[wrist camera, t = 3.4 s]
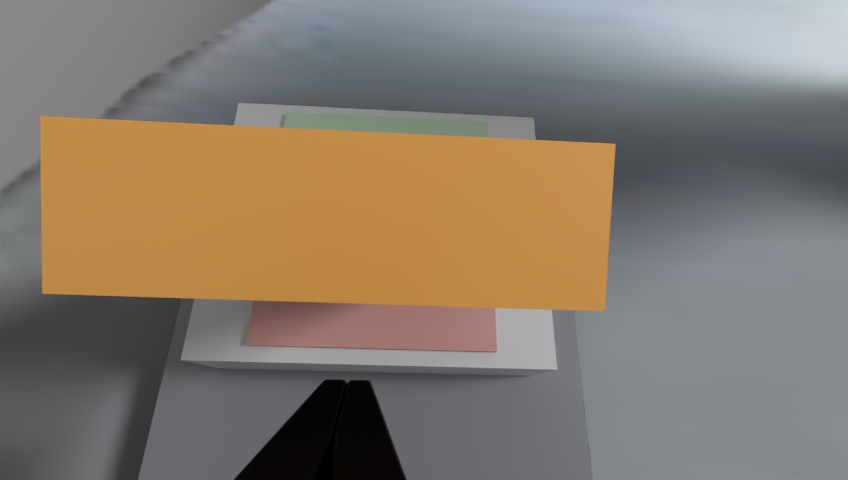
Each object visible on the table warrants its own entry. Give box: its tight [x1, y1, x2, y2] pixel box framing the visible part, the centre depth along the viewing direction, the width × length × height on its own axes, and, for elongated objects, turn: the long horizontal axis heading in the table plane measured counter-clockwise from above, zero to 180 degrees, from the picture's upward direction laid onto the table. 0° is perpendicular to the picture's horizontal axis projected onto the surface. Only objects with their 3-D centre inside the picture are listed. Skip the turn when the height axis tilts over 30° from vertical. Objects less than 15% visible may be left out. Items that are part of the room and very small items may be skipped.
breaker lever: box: [40, 116, 616, 311], centre depth 10 cm, size 2×7×9 cm, turn 90°
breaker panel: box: [138, 103, 593, 480], centre depth 16 cm, size 18×16×5 cm
